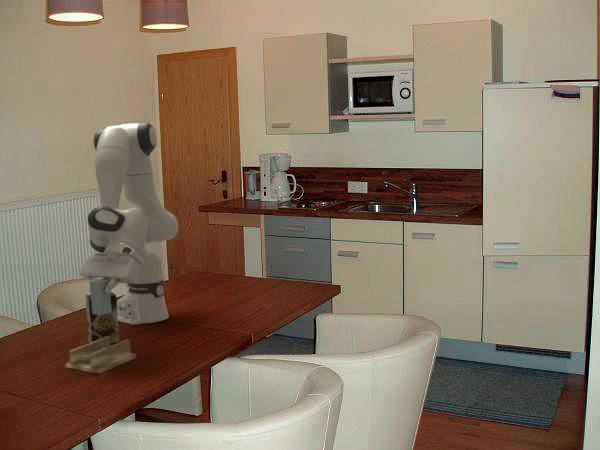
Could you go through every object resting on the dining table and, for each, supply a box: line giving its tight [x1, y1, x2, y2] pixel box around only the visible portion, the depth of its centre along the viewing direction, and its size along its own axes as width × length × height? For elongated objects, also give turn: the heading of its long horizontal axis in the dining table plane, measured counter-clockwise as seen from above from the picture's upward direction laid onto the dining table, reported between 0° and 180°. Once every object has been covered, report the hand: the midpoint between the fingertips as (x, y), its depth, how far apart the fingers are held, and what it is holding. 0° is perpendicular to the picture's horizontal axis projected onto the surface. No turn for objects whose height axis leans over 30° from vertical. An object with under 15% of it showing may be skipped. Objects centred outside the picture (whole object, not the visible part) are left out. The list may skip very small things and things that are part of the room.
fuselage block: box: [89, 277, 112, 315], centre depth 227 cm, size 4×4×11 cm
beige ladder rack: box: [64, 336, 137, 374], centre depth 229 cm, size 14×16×5 cm
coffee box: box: [85, 291, 120, 345], centre depth 249 cm, size 9×6×16 cm
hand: (98, 292), depth 226 cm, fingers closed on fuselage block, 4 cm apart
